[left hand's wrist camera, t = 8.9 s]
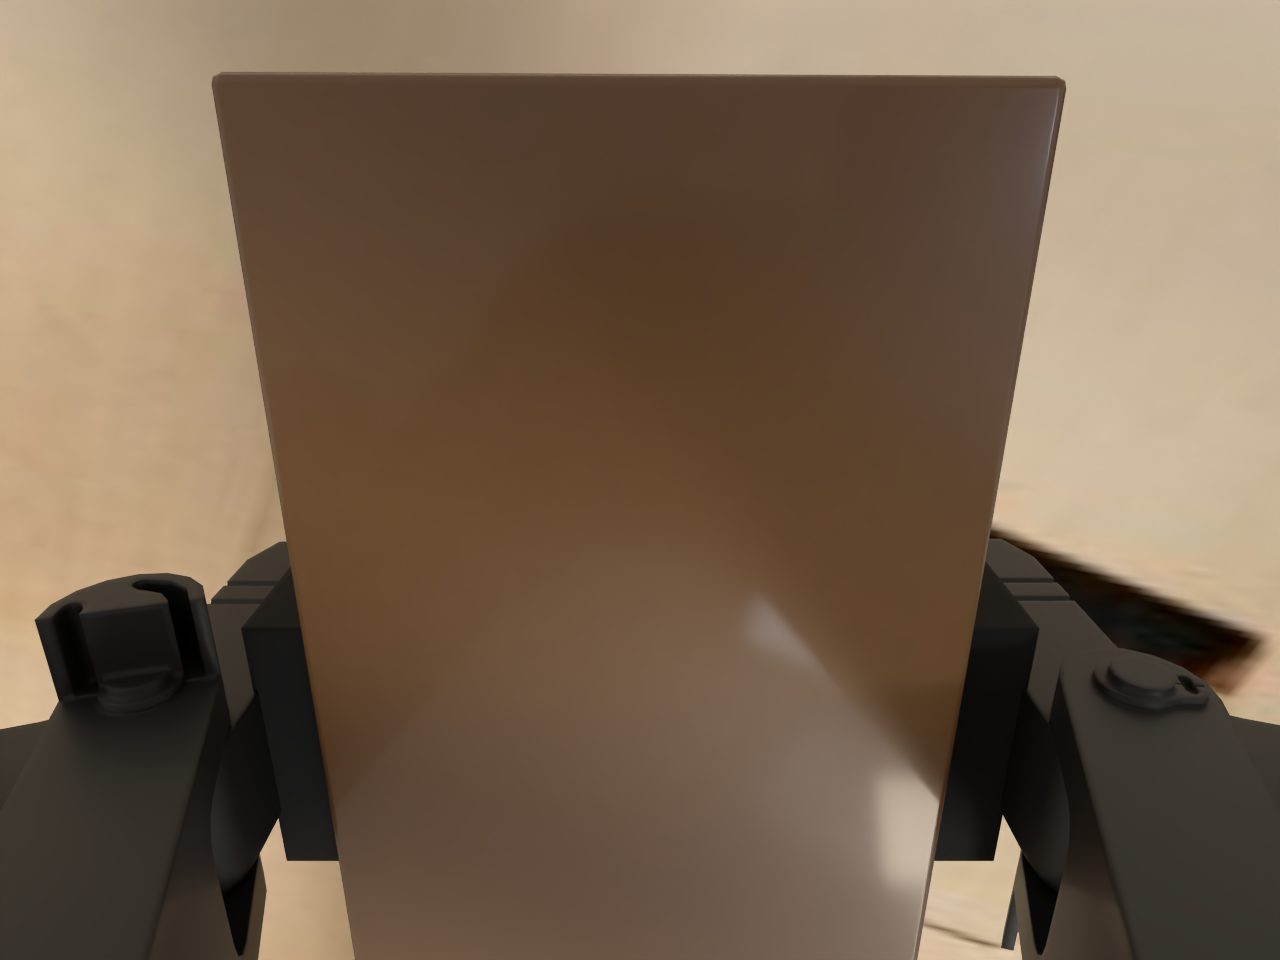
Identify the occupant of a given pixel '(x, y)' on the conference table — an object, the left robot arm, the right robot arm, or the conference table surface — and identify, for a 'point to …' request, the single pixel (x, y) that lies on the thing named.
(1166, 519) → the conference table surface
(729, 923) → the beam
